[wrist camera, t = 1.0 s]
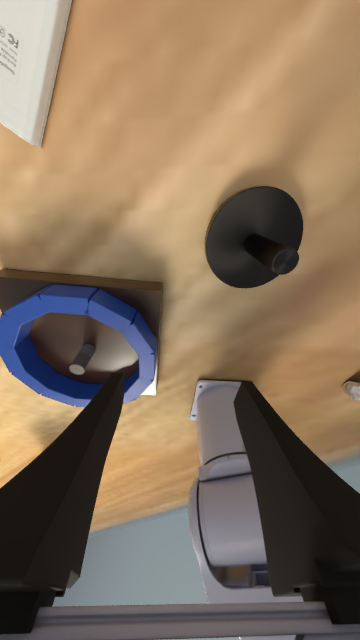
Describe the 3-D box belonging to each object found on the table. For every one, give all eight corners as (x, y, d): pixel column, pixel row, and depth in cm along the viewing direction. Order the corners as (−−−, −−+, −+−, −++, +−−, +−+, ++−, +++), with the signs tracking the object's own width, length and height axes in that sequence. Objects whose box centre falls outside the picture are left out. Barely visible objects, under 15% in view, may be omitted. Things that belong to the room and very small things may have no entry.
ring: (154, 394, 25) (153, 410, 23) (38, 389, 24) (27, 404, 22) (159, 292, 17) (157, 303, 15) (-13, 278, 16) (-37, 288, 14)
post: (276, 287, 19) (316, 322, 14) (198, 280, 19) (207, 314, 13) (313, 193, 15) (394, 189, 9) (214, 181, 14) (237, 168, 9)
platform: (157, 383, 27) (153, 417, 22) (46, 377, 26) (21, 412, 21) (162, 282, 19) (158, 306, 14) (2, 268, 18) (-52, 289, 13)
